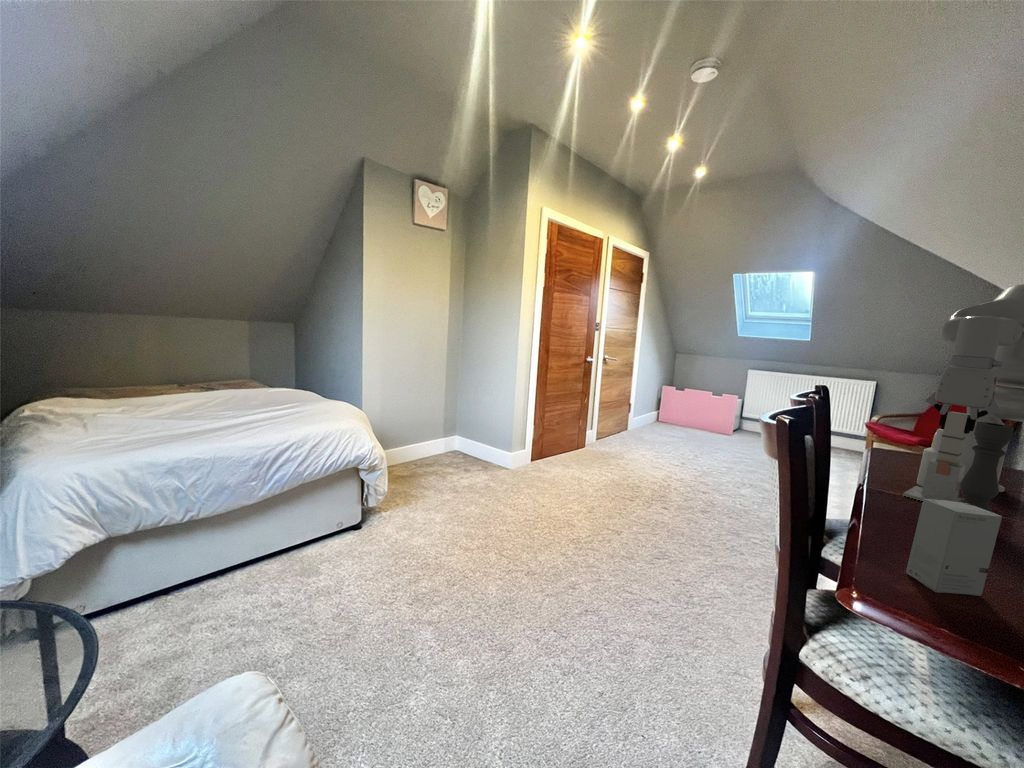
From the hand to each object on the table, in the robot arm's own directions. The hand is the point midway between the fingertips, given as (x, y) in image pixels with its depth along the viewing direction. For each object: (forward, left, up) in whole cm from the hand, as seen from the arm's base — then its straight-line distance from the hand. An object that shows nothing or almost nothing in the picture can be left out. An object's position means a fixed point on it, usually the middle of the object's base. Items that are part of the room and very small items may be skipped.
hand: (955, 430), depth 110 cm
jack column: (0, 0, -13) cm, 13 cm away
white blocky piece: (0, 0, -20) cm, 20 cm away
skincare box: (+57, +11, -20) cm, 62 cm away
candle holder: (+14, +8, -20) cm, 26 cm away
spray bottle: (-14, -4, -20) cm, 25 cm away
